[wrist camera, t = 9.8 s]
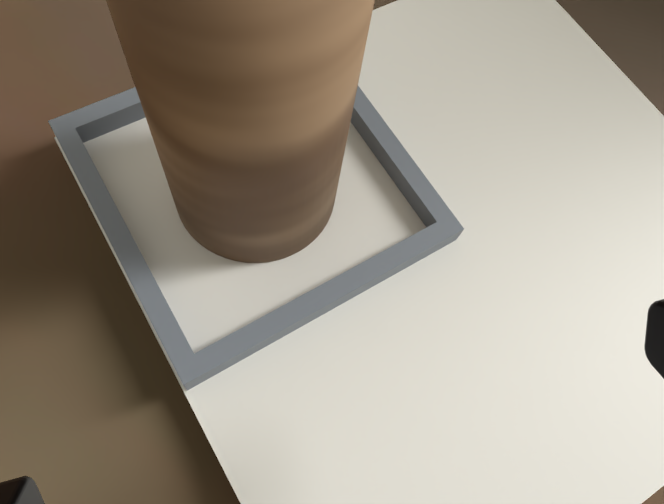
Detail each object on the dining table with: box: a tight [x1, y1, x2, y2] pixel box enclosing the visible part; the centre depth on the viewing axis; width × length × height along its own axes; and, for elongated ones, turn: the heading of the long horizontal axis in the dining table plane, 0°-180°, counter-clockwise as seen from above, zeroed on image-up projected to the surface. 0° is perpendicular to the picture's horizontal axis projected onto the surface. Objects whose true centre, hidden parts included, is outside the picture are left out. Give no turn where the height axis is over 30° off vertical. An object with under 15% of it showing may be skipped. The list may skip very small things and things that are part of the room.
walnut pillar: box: [106, 0, 375, 263], centre depth 13 cm, size 5×5×12 cm
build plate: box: [48, 0, 664, 504], centre depth 18 cm, size 18×19×2 cm
